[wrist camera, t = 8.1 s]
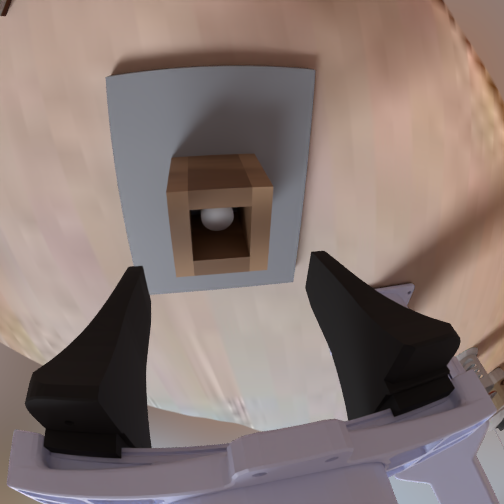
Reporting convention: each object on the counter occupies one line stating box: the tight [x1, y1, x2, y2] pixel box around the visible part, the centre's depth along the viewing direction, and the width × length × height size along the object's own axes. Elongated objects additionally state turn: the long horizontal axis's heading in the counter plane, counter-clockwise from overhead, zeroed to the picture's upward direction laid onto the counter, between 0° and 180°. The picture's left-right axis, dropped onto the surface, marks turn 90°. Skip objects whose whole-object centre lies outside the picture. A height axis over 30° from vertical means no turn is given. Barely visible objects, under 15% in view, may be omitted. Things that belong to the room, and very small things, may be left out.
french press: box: [456, 347, 504, 448], centre depth 39 cm, size 10×12×25 cm
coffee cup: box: [488, 367, 504, 431], centre depth 55 cm, size 11×11×15 cm
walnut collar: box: [166, 154, 273, 277], centre depth 18 cm, size 5×5×5 cm
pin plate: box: [106, 65, 315, 295], centre depth 20 cm, size 16×12×4 cm
